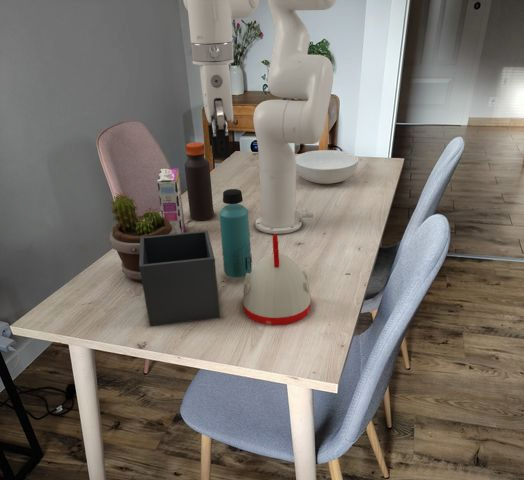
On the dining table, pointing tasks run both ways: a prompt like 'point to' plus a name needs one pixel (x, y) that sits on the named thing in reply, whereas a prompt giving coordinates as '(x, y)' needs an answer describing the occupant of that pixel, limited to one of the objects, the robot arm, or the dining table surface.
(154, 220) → the flowerpot
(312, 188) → the dining table surface
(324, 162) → the serving bowl
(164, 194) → the candy bar box
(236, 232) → the beverage bottle
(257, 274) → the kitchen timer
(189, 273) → the waste bin
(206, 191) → the vinegar
